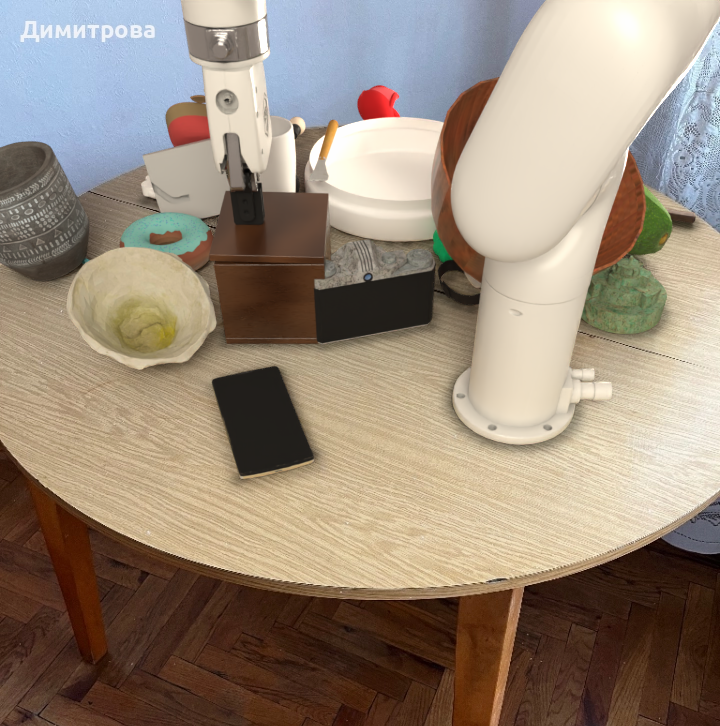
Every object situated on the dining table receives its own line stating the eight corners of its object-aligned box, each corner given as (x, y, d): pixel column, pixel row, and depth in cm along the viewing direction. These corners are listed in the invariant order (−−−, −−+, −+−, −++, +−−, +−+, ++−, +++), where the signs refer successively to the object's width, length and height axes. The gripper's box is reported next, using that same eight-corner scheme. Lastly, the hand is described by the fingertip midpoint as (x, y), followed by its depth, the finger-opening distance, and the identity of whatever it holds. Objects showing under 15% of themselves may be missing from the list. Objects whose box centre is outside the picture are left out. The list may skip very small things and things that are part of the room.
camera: (417, 292, 95) (421, 217, 87) (436, 324, 90) (442, 247, 83) (299, 313, 92) (293, 237, 85) (313, 347, 88) (308, 270, 80)
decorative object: (189, 184, 115) (161, 129, 100) (184, 161, 115) (155, 102, 100) (279, 163, 115) (264, 105, 100) (273, 140, 115) (258, 78, 100)
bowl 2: (360, 220, 89) (394, 153, 79) (477, 111, 99) (520, 39, 89) (522, 366, 90) (576, 319, 79) (621, 243, 100) (681, 187, 90)
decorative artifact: (569, 284, 96) (581, 333, 89) (580, 232, 91) (594, 280, 84) (651, 285, 96) (669, 335, 89) (667, 234, 91) (687, 282, 84)
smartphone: (239, 476, 73) (210, 377, 83) (241, 484, 74) (211, 385, 83) (315, 458, 74) (277, 363, 84) (316, 466, 75) (278, 371, 85)
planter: (-7, 274, 100) (-67, 184, 90) (66, 222, 105) (17, 132, 95) (44, 302, 94) (-15, 209, 84) (120, 246, 98) (73, 152, 89)
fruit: (700, 197, 96) (671, 236, 91) (655, 256, 104) (626, 294, 99) (599, 131, 98) (564, 165, 93) (563, 194, 106) (530, 228, 101)
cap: (359, 111, 129) (350, 131, 126) (363, 76, 124) (353, 96, 121) (405, 123, 129) (397, 143, 126) (411, 88, 124) (403, 108, 121)
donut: (192, 225, 106) (187, 197, 103) (232, 265, 99) (228, 237, 96) (109, 252, 102) (101, 223, 99) (145, 295, 95) (137, 267, 92)
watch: (495, 302, 93) (499, 275, 91) (463, 314, 92) (466, 287, 89) (458, 271, 98) (460, 245, 95) (427, 282, 96) (428, 256, 94)
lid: (209, 261, 81) (208, 254, 80) (226, 197, 90) (225, 190, 89) (324, 264, 81) (324, 257, 80) (328, 199, 90) (328, 193, 89)
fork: (341, 116, 113) (323, 180, 99) (342, 129, 114) (324, 194, 100) (324, 115, 113) (303, 179, 99) (325, 128, 114) (304, 193, 100)
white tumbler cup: (294, 223, 107) (285, 111, 95) (307, 248, 102) (300, 134, 91) (246, 231, 105) (231, 119, 94) (257, 257, 101) (243, 142, 90)
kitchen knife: (697, 211, 106) (696, 217, 104) (695, 218, 106) (693, 224, 105) (564, 190, 111) (561, 195, 109) (563, 197, 111) (560, 202, 110)
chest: (226, 344, 89) (213, 264, 81) (239, 277, 98) (229, 200, 90) (328, 344, 88) (324, 264, 81) (332, 277, 98) (328, 200, 90)
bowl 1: (113, 413, 81) (87, 335, 73) (70, 343, 89) (43, 266, 81) (242, 364, 86) (231, 287, 79) (191, 302, 94) (176, 226, 87)
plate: (267, 205, 110) (263, 167, 106) (374, 135, 124) (374, 100, 120) (431, 264, 99) (433, 225, 95) (526, 180, 114) (532, 143, 110)
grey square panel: (236, 226, 108) (234, 220, 111) (235, 139, 103) (233, 136, 106) (147, 224, 106) (147, 218, 109) (141, 135, 100) (142, 131, 103)
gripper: (261, 67, 66) (278, 258, 80) (275, 9, 76) (289, 187, 90) (173, 68, 66) (205, 258, 80) (199, 10, 76) (224, 188, 90)
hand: (249, 220), depth 85 cm, fingers closed
